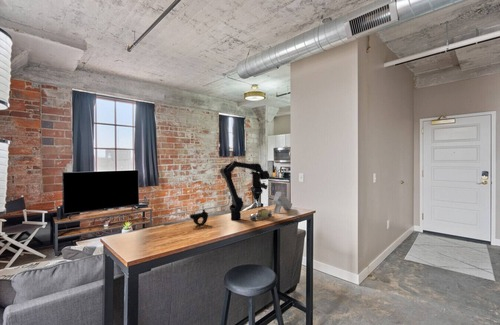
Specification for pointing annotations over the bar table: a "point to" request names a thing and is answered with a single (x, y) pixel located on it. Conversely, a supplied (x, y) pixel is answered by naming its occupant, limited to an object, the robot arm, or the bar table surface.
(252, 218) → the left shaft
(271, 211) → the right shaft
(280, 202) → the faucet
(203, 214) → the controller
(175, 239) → the bar table surface
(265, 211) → the olive green rounded lump
